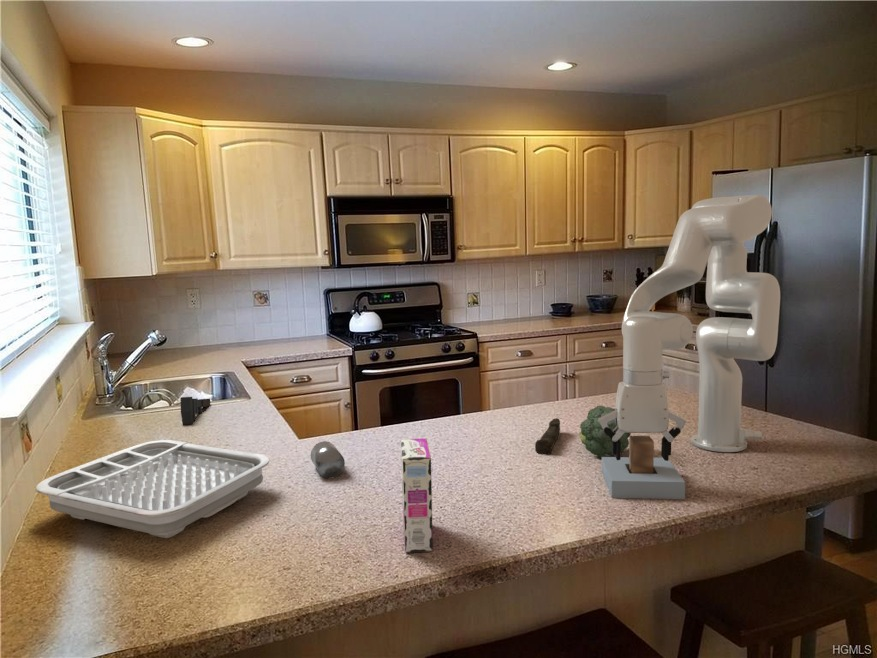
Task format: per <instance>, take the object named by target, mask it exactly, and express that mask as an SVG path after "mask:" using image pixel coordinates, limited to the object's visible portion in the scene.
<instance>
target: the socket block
mask: <svg viewBox="0 0 877 658" xmlns="http://www.w3.org/2000/svg"><path fill="white" fill-rule="evenodd" d="M601 475H602V477H603V476H604V477H603V479H605V480H604V482H605V485H606V484H607V485H606V487H607V489H609V490H608V492H609V495H610V497H611V498H613V497H614V498H615V499H652V500H653V499H655V500H656V499H658V500H686V481H685V480H684V478H683V477H682V476H681V474H680V473H679V472H678V470H677V469H676V467H675V466H674V464H673V462H672V461H671V460H670V459H668V461H665V460H664V459H663V457H654V466H653V474H630V473H629V457H627V456H625V457H624V456H623V457H622V456H621V459H620V460H617V459H616V457H615V456H605V457H602V458H601ZM614 498H613V499H614Z"/></svg>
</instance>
